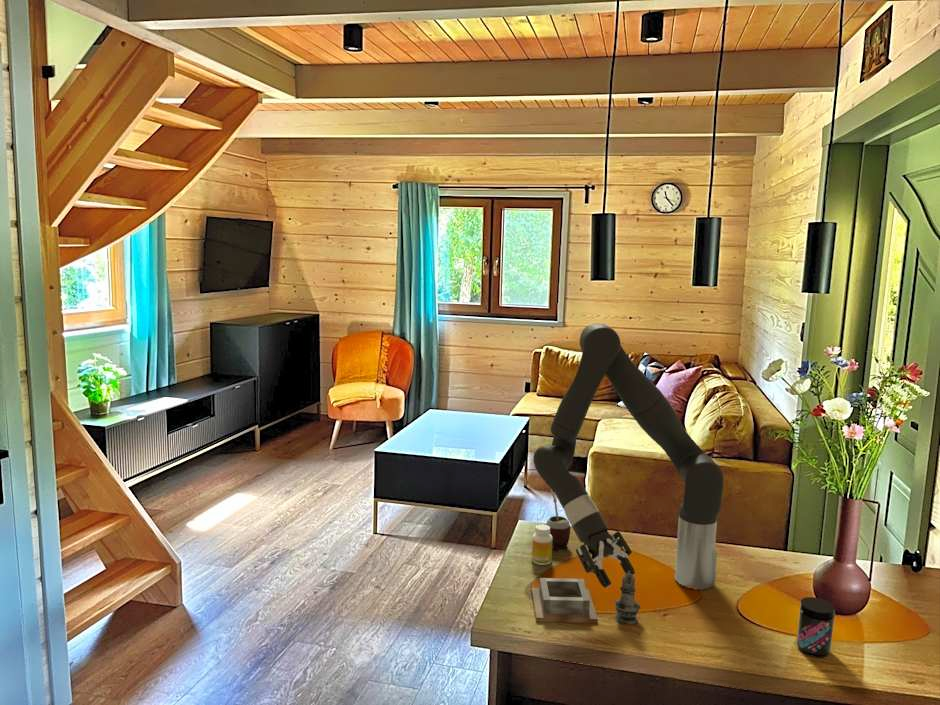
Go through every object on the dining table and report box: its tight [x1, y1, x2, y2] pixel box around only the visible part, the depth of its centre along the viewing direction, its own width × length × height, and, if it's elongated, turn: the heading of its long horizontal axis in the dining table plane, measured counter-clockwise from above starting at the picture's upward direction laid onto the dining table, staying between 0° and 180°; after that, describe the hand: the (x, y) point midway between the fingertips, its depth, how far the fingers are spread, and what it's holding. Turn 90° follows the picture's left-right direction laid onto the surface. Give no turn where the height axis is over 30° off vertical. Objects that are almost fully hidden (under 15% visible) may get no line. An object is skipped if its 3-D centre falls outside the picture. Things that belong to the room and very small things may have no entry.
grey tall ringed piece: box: [614, 571, 641, 626], centre depth 166 cm, size 6×6×12 cm
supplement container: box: [796, 596, 836, 658], centre depth 155 cm, size 7×7×10 cm
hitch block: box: [531, 577, 599, 624], centre depth 172 cm, size 14×14×4 cm
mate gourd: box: [545, 488, 571, 551], centre depth 205 cm, size 8×8×15 cm
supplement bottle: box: [531, 523, 553, 566], centre depth 195 cm, size 5×5×10 cm
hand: (620, 580), depth 168 cm, fingers open, 8 cm apart
